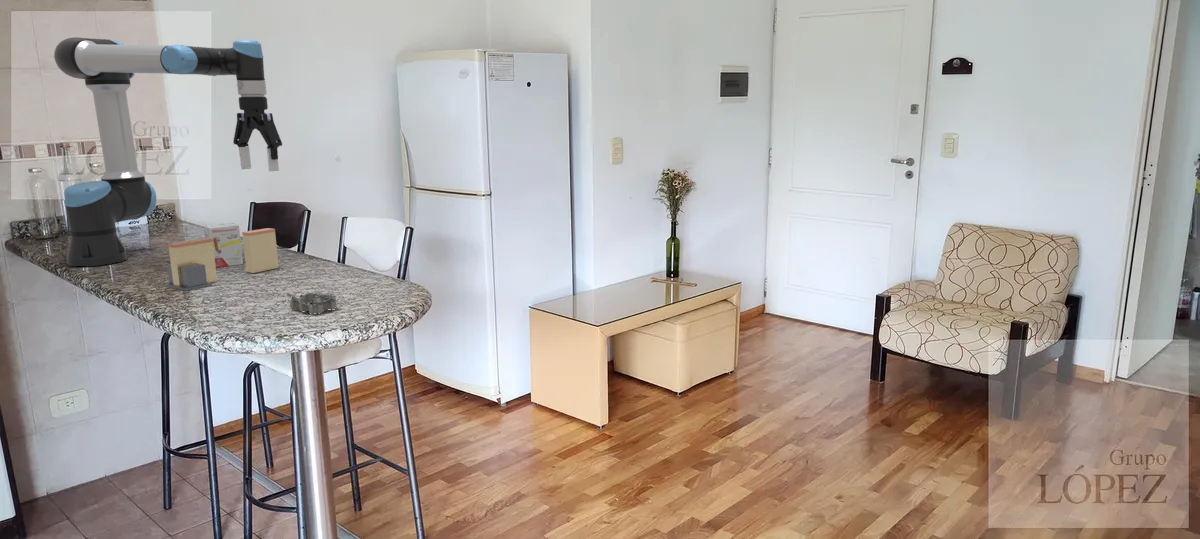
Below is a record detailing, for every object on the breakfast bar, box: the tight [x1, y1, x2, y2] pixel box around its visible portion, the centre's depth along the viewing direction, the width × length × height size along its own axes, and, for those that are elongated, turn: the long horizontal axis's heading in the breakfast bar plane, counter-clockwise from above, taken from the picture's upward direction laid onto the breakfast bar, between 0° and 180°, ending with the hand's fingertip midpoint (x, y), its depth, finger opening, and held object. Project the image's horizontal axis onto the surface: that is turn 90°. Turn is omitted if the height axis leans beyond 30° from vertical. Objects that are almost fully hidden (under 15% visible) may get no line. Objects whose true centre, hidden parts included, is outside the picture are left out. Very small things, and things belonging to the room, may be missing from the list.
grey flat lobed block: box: [286, 290, 339, 315], centre depth 180 cm, size 11×8×4 cm
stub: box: [242, 227, 279, 274], centre depth 219 cm, size 3×8×11 cm, turn 146°
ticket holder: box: [163, 237, 218, 292], centre depth 203 cm, size 10×10×11 cm
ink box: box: [203, 222, 244, 269], centre depth 227 cm, size 9×5×12 cm, turn 130°
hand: (259, 170), depth 231 cm, fingers open, 13 cm apart
